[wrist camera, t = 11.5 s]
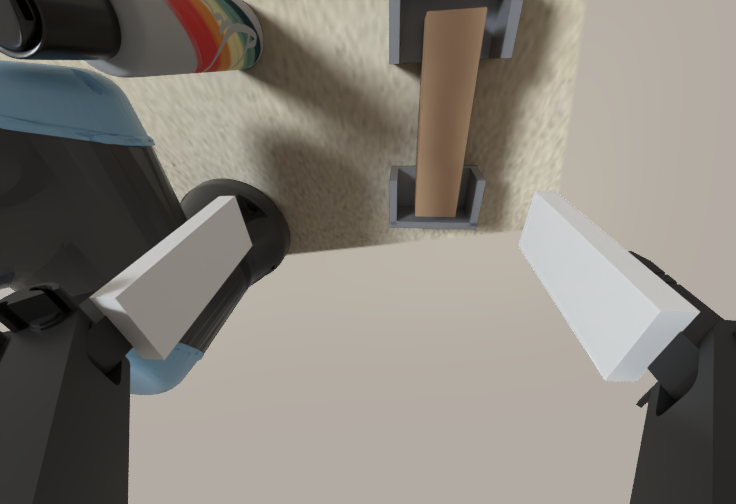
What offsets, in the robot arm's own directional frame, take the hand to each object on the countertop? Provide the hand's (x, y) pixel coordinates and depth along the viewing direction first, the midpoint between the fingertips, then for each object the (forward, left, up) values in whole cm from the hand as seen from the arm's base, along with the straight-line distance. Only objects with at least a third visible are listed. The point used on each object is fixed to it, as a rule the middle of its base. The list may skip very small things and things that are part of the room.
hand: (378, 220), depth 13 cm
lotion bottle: (-16, +9, -22) cm, 28 cm away
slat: (+4, +1, -21) cm, 21 cm away
